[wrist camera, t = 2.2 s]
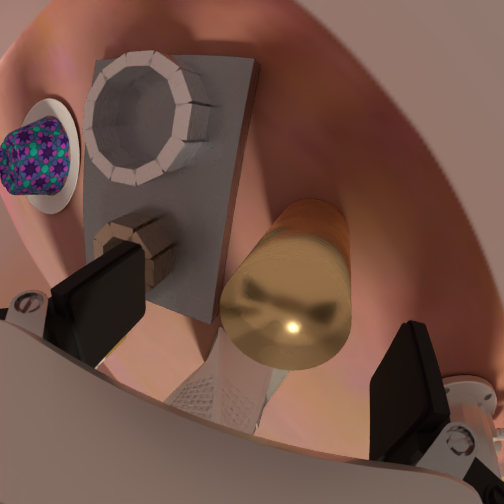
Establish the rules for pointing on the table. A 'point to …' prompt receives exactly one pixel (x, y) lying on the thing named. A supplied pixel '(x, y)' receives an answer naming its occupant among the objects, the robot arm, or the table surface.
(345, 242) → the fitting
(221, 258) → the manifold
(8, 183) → the pudding
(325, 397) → the table surface
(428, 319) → the table surface
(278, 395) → the table surface
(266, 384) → the skyscraper
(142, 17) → the table surface
